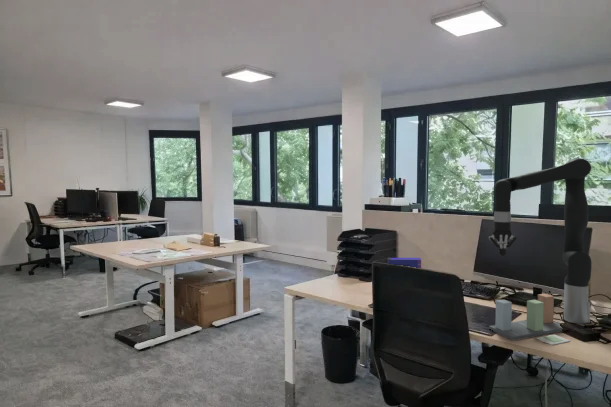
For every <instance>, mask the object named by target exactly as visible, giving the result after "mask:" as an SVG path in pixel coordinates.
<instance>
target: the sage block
mask: <svg viewBox="0 0 611 407" xmlns="http://www.w3.org/2000/svg"><path fill="white" fill-rule="evenodd" d="M543 305H544V303H543V302H540V301H538V299H531V300H530V299H529V300H527V301H526V320H527V328H528V329H531V330H533V331H540V330H543Z"/></svg>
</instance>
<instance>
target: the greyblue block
mask: <svg viewBox="0 0 611 407" xmlns="http://www.w3.org/2000/svg"><path fill="white" fill-rule="evenodd" d="M512 306H513V304H512V301H510V300H506V299H498V300H497V299H496V300H495V321H494V322H495V324H494V325H495V327H496V328H498V329H500V330H502V331H505V330H511V322H512V318H513V317H512V316H513V314H512V313H513V312H512V308H513V307H512Z"/></svg>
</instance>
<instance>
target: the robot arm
mask: <svg viewBox="0 0 611 407" xmlns="http://www.w3.org/2000/svg"><path fill="white" fill-rule="evenodd" d="M591 170H592V165H591V163H590V162H589V161H588V160H587V159H585V158H572V159H569V160H568V161H567V162H566V163H564V164H561V165H557V166H554V167H550V168H546V169H541V170H536V171H532V172H526V173H523V174H519V175H517V176H513V177H508V178H502V179H499V180H497V181H496V182H495V183H494V190H495V192H494V193H495V195H494V196H495V201H494V214H493V232H492V235H491V236H488V240H489V242H491V244H492V245H494V247H495V248H497V249H498V255H499V256H500V257H505V255H506V254H507V252H506V250H507V248H510V247H511V246H512V245H513V244H514V243H515V241H516V240H517V237H515V236H514V235H513V234H512V212H511V210H512V209H511V197H512V192H515V191H521V190H526V189H530V188H535V187H537V186H538V187H539V186H542V185H545V184H549V183H553V182H558V181H563V180H564V182H565V194H564V195H565V196H564V213H563V219H564V244H563V252H562V260H563V263H564V264H565V265H566V267H567V275H566V276H565V277H564V284H563V285H564V287H563V288H564V289H563V291H564V293H563V294H564V295H563V296H564V297H563V319H564V321H566V322H569V323H571V324H572V323H573V324H579V325H585V324H590V323H591V302H590V301H589V282H590V281H591V278H592V277H591V276H592V259H591V256H590V255H589V254H588V253H586V252H585V251H584V245H583V244H584V242H583V240H584V235H585V232H586V229H587V228H588V227H587V226H588V224H589V203H588V199H587V195H586V191H585V190H586V189H585V180H586V179H585V178H586V177H587V176H588V175H589V174H590V172H591ZM496 241H497V242H496Z"/></svg>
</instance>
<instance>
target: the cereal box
mask: <svg viewBox="0 0 611 407" xmlns="http://www.w3.org/2000/svg"><path fill="white" fill-rule="evenodd" d="M388 264H394V265H403V266H410V267H416V268H421V269H422V258H421V257H387V265H388Z"/></svg>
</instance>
